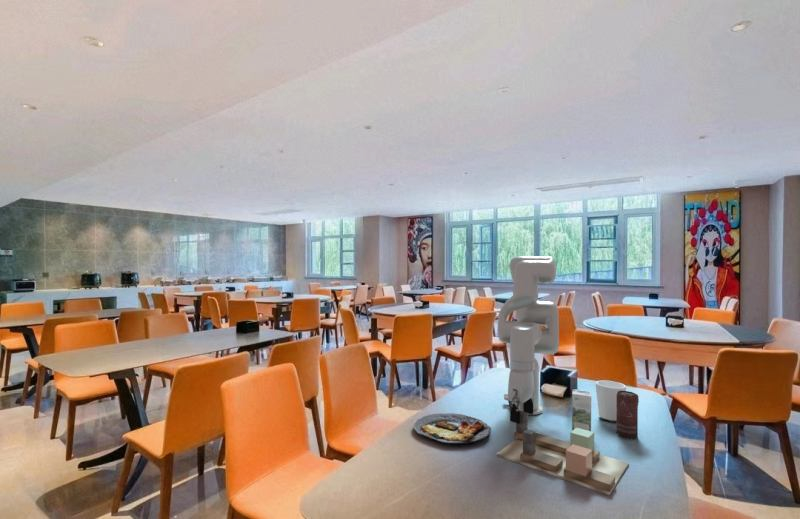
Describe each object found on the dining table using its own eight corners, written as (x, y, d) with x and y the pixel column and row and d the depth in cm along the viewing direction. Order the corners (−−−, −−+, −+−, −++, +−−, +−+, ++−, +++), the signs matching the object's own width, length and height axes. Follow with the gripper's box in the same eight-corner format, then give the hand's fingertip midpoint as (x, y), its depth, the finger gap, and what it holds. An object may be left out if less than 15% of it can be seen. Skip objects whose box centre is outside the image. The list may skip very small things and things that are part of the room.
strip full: (513, 437, 128) (513, 413, 128) (520, 432, 131) (520, 409, 131) (594, 462, 112) (594, 435, 112) (599, 456, 115) (599, 430, 116)
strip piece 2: (563, 475, 105) (563, 469, 105) (570, 468, 109) (570, 462, 109) (609, 492, 98) (609, 484, 98) (615, 483, 101) (615, 476, 101)
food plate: (503, 432, 133) (503, 421, 134) (464, 456, 116) (463, 444, 117) (443, 414, 150) (442, 405, 151) (400, 434, 133) (400, 423, 134)
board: (496, 455, 117) (496, 453, 117) (526, 434, 132) (526, 432, 132) (609, 495, 97) (609, 492, 97) (628, 465, 112) (628, 463, 112)
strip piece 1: (520, 459, 113) (520, 432, 113) (527, 453, 117) (527, 427, 117) (556, 472, 106) (556, 443, 106) (562, 465, 110) (562, 437, 110)
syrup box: (591, 434, 133) (591, 390, 133) (591, 441, 127) (591, 395, 127) (572, 431, 135) (572, 388, 135) (571, 438, 130) (571, 393, 130)
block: (565, 469, 105) (565, 450, 105) (572, 462, 108) (572, 444, 108) (585, 476, 101) (586, 456, 101) (591, 469, 105) (592, 449, 105)
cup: (596, 421, 144) (596, 386, 144) (594, 412, 153) (594, 379, 153) (628, 426, 140) (628, 389, 140) (624, 416, 149) (624, 382, 149)
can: (641, 440, 128) (641, 396, 129) (619, 438, 130) (620, 395, 130) (634, 432, 134) (634, 390, 135) (613, 431, 136) (614, 389, 136)
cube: (570, 449, 116) (570, 432, 116) (576, 444, 120) (576, 427, 120) (588, 455, 113) (588, 437, 113) (594, 449, 116) (594, 432, 117)
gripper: (522, 357, 138) (522, 406, 138) (498, 368, 125) (498, 422, 126) (544, 361, 133) (543, 412, 134) (521, 373, 120) (521, 430, 121)
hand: (521, 417), depth 130 cm, fingers open, 9 cm apart
